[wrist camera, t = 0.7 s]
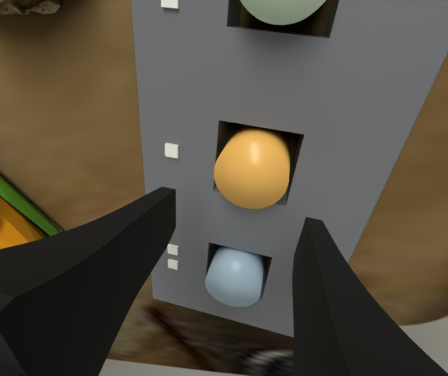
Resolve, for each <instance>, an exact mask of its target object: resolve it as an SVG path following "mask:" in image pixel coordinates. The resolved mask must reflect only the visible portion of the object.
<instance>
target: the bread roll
mask: <svg viewBox="0 0 448 376" xmlns="http://www.w3.org/2000/svg"><path fill="white" fill-rule="evenodd" d="M60 6H61V5H60V2H59V0H0V14H12V15H13V14H21V15H23V14H26V15H28V16H29V13H30V11H32V12H38V13H41V14H52V13H55V12H56V11H57V10H58V9H59V7H60Z"/></svg>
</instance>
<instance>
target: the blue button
mask: <svg viewBox="0 0 448 376" xmlns="http://www.w3.org/2000/svg"><path fill="white" fill-rule="evenodd" d="M264 267H265V256H264V255H260V254H256V253H252V252H247V251H243V250H239V249H235V248H231V247H226V246H222V245H218V247H217V249H216V251H215V254H214V257H213V260H212V262H211V265H210V268H209V270H208V273H207V276H206V278H205V286H206V289H207V290H208V292H209V293H210V294H211V296H212V297H214V298H215V299H216V300H218V301H219V302H221V303H223V304H226V305H229V306H234V307H246V306H250V305H252V304H254V303H255V302H257V301H258V299H259V298H260V294H261V287H262V280H263V274H264Z"/></svg>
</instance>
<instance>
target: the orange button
mask: <svg viewBox="0 0 448 376" xmlns="http://www.w3.org/2000/svg"><path fill="white" fill-rule="evenodd" d="M290 159H291V151H290V147H289V144H288V141H287V140H286V138H285V137H284V136H283V134H282V133H281V132H280V131H278V130H275V129H269V128H263V127H257V126H251V125H246V126H243V127H241V128H240V129H238V130H237V131H236V132H235V133H234V134H233V135H232V136H231V138H230V139H229V141H228V142H227V144H226V146H225V147H224V149H223V151H222V152H221V154H220V156H219V157H218V159H217V161H216V163H215V167H214V179H215V183H216V185H217V188H218V189H219V191H220V192H221V194H222V195H223V196H224V197H225V198H226V199H227V200H229V201H230V202H231V203H233V204H235V205H237V206H240V207H243V208H248V209H261V208H265V207H268V206H271V205H273V204H274V203H276V202H277V201H278V200H280V199H281V198H282V196H283V195H284V194H285V192H286V190H287V187H288V183H289V173H290Z"/></svg>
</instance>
